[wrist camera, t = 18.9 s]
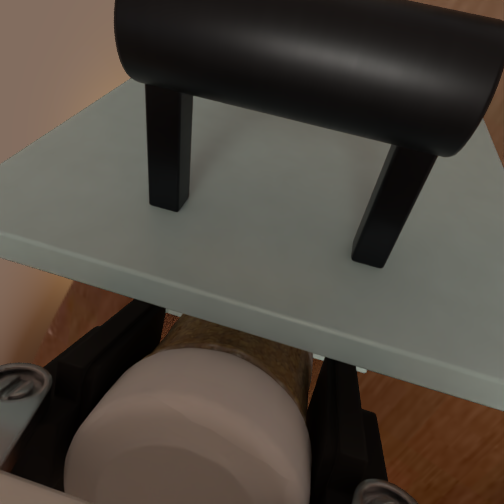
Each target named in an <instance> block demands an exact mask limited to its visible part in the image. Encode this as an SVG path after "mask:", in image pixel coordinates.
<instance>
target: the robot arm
mask: <svg viewBox="0 0 504 504" xmlns="http://www.w3.org/2000/svg"><path fill="white" fill-rule="evenodd" d="M165 313H166V308H163V307H160V306H157V305H153V304H150V303H147V302H144V301H140V300H137V299H134V300H133V301H131V302H130V303H129V304H128V305H126V306H125V307H124V308H123V309H121V310H120V311H119V312H118V313H116V314H115V315H114V316H113V317H111V318H110V319H109V320H108V321H106V322H105V323H104V324H103V325H101V326H97V327H95V328H93V329H92V330H90V331H89V332H88V333H87V334H85V335H84V336H83V337H82V338H80V339H79V340H78V341H76V342H75V343H74V344H73V345H71V346H70V347H69V348H67V349H66V350H65V351H64V352H62V353H61V354H60V355H59V356H57V357H56V358H55V359H53V360H52V361H51V362H50V363H48V364H47V365H46V366H45V367H43V368H42V367H41V366H38V365H34V364H30V363H10V364H5V365H1V366H0V504H94V503H92V502H89V501H86V500H83V499H81V498H78V497H75V496H72V495H70V494H67V493H65V491H64V466H65V458H66V455H67V452H68V449H69V447H70V444H71V442H72V440H73V437H74V435H75V434H76V432H77V430H78V429H79V427H80V426H81V424H82V423H83V422H84V421H85V419H86V418H87V417H88V415H89V414H90V413H91V412H92V410H93V409H94V408H95V407H96V405H97V404H98V403H99V401H100V400H101V399H102V398H103V396H104V395H105V394H106V393H107V392H108V391H109V389H110V388H111V387H112V386H113V385H114V384H115V382H116V381H117V380H118V379H119V378H120V377H121V376H122V374H123V373H124V372H125V371H127V370H128V369H129V368H130V367H132V366H133V365H134V364H136V363H137V362H139V361H141V360H142V359H143V358H144V357H146V356H147V355H149V354H151V353H152V352H153V351H154V350H155V348H156V347H157V346H158V345H159V343H160V339H161V334H162V328H163V323H164V318H165ZM306 427H307V429H308V433H309V438H310V442H311V451H312V467H311V489H310V502H309V504H418V503H417V501H416V500H415V499H414V498H413V497H412V496H410V495H409V494H408V493H407V492H406V491H405V490H403V489H401V488H400V487H398V486H397V485H395V484H393V483H390V482H388V478H387V473H386V467H385V462H384V456H383V450H382V445H381V439H380V434H379V428H378V423H377V417H376V414H375V413H373V412H370V411H367V410H364V409H361V401H360V393H359V385H358V378H357V370H356V366H353V365H350V364H347V363H344V362H340V361H337V360H334V359H330V358H327V357H325V358H324V361H323V364H322V367H321V370H320V373H319V376H318V379H317V382H316V386H315V389H314V392H313V395H312V398H311V401H310V404H309V407H308V410H307V413H306Z"/></svg>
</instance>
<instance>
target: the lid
mask: <svg viewBox="0 0 504 504" xmlns="http://www.w3.org/2000/svg"><path fill="white" fill-rule="evenodd" d="M114 33H115V41H116V47H117V52H118V55H119V59H120V61H121V64H122V66H123V68H124V70H125V71H126V73H127V74H128V75H129V76H130V77H131V78H130V79H129V80H127V81H126V82H124V83H123V84H121V85H120V86H118V87H117V88H115V89H114V90H112V91H111V92H109V93H108V94H106V95H104V96H103V97H102V98H100V99H98V100H97V101H95V102H94V103H92V104H91V105H89V106H88V107H86V108H85V109H83V110H82V111H80V112H79V113H77V114H76V115H74V116H73V117H71V118H69V119H68V120H66V121H65V122H63V123H62V124H60V125H59V126H57V127H56V128H54V129H53V130H51V131H50V132H48V133H47V134H45V135H44V136H42V137H41V138H39V139H37V140H36V141H34V142H33V143H31V144H30V145H28V146H27V147H25V148H24V149H22V150H21V151H19V152H18V153H16V154H15V155H13V156H12V157H10V158H9V159H7V160H6V161H4V162H3V163H1V164H0V258H2V259H6V260H9V261H12V262H16V263H19V264H22V265H26V266H29V267H32V268H36V269H39V270H42V271H46V272H48V273H52V274H55V275H58V276H62V277H65V278H68V279H71V280H75V281H78V282H81V283H84V284H88V285H91V286H94V287H98V288H101V289H104V290H107V291H111V292H114V293H117V294H121V295H124V296H127V297H130V298H134V299H137V300H140V301H144V302H147V303H150V304H153V305H157V306H160V307H163V308H166V309H170V310H173V311H176V312H180V313H183V314H186V315H189V316H193V317H196V318H199V319H203V320H206V321H209V322H212V323H216V324H219V325H222V326H225V327H229V328H232V329H235V330H239V331H242V332H245V333H248V334H252V335H255V336H258V337H262V338H265V339H268V340H271V341H275V342H278V343H281V344H285V345H288V346H291V347H294V348H298V349H301V350H304V351H307V352H311V353H314V354H317V355H321V356H324V357H327V358H330V359H334V360H337V361H340V362H344V363H347V364H350V365H353V366H357V367H360V368H363V369H367V370H370V371H373V372H376V373H380V374H383V375H386V376H389V377H393V378H396V379H399V380H403V381H406V382H409V383H412V384H416V385H419V386H422V387H426V388H429V389H432V390H435V391H439V392H442V393H445V394H449V395H452V396H455V397H458V398H462V399H465V400H468V401H471V402H475V403H478V404H481V405H485V406H488V407H491V408H494V409H498V410H501V411H504V168H503V166H502V163H501V161H500V158H499V156H498V153H497V151H496V149H495V146H494V144H493V141H492V139H491V136H490V134H489V132H488V129H487V127H486V124H485V122H484V119H483V117H484V115H485V113H486V111H487V109H488V107H489V105H490V103H491V101H492V98H493V96H494V94H495V91H496V89H497V86H498V84H499V81H500V78H501V75H502V72H503V69H504V21H502V20H500V19H495V18H490V17H485V16H480V15H476V14H471V13H466V12H461V11H456V10H452V9H447V8H442V7H437V6H432V5H427V4H423V3H418V2H413V1H408V0H115V8H114Z"/></svg>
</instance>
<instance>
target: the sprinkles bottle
mask: <svg viewBox="0 0 504 504" xmlns="http://www.w3.org/2000/svg"><path fill="white" fill-rule="evenodd" d="M312 363H313V353H311V352H307V351H304V350H301V349H298V348H294V347H291V346H288V345H285V344H281V343H278V342H275V341H271V340H268V339H265V338H262V337H258V336H255V335H252V334H248V333H245V332H242V331H239V330H235V329H232V328H229V327H225V326H222V325H219V324H216V323H212V322H209V321H206V320H203V319H199V318H196V317H193V316H189V315H186V314H182V315H181V317H180V318H179V319H178V320H177V321H176V323H175V324H174V325H173V327H172V328H171V329H170V331H169V332H168V334H167V335H166V336H165V338H164V339H163V340H162V341H161V342H160V343H159V345H158V346H157V347H156V348H155V350H154V351H153V352H152V353H151V354H149V355H147V356H146V357H144V358H143V359H142V360H141V361H139V362H137V363H136V364H134V365H133V366H132V367H130V368H129V369H128V370H127V371H125V372H124V373H123V374H122V376H121V377H120V378H119V379H118V380H117V381H116V382H115V384H114V385H113V386H112V387H111V388H110V389H109V391H108V392H107V393H106V394H105V395H104V396H103V398H102V399H101V400H100V401H99V403H98V404H97V405H96V407H95V408H94V409H93V410H92V412H91V413H90V414H89V415H88V417H87V418H86V419H85V421H84V422H83V423H82V424H81V426H80V427H79V429H78V430H77V432H76V434H75V435H74V437H73V440H72V442H71V444H70V447H69V449H68V452H67V455H66V458H65V466H64V491H65V493H67V494H70V495H72V496H75V497H78V498H81V499H83V500H86V501H89V502H92V503H94V504H309V502H310V489H311V467H312V451H311V442H310V438H309V433H308V429H307V427H306V413H307V404H308V390H309V387H310V383H311V376H312Z"/></svg>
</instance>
